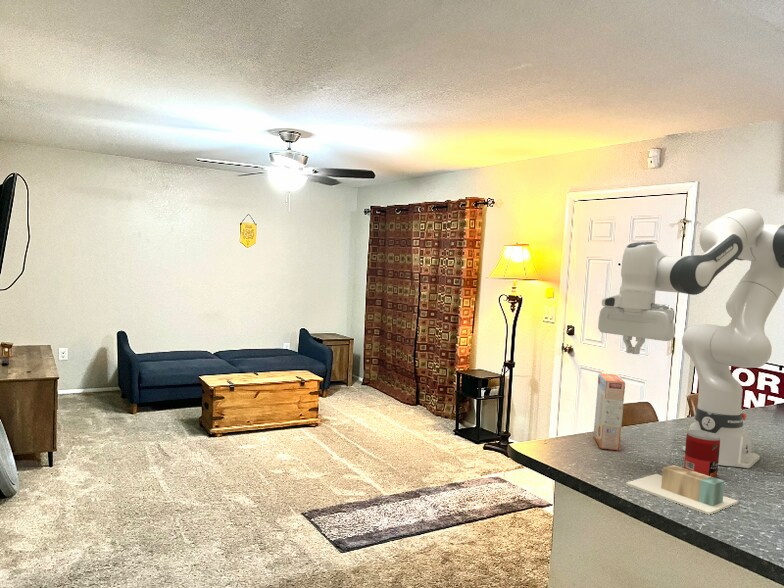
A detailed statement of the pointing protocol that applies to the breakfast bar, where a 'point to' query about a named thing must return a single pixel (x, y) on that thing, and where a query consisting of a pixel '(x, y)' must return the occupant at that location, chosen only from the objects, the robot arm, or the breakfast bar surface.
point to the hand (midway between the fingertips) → (632, 353)
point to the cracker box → (609, 411)
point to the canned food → (702, 452)
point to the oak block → (693, 485)
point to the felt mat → (677, 495)
